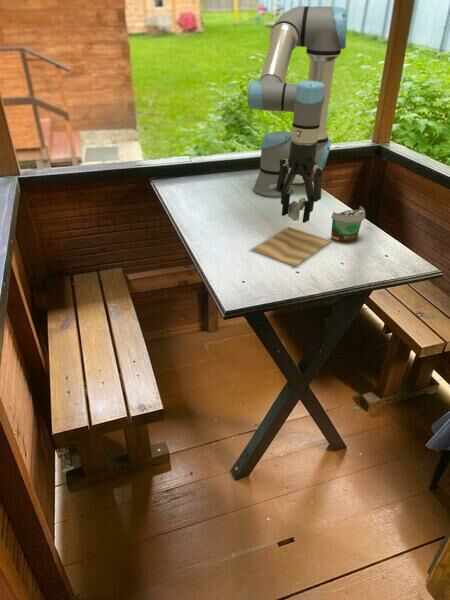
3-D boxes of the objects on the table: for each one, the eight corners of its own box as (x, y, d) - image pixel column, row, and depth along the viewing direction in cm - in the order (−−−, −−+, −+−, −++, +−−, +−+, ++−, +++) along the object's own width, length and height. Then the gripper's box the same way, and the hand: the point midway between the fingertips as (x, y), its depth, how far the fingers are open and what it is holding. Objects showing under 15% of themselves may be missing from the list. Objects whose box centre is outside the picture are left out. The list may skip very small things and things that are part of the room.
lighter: (287, 215, 141) (290, 191, 137) (292, 215, 142) (295, 191, 137) (299, 224, 136) (302, 199, 131) (303, 223, 136) (307, 198, 132)
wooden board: (288, 228, 155) (289, 227, 155) (329, 241, 147) (330, 241, 146) (252, 250, 140) (252, 249, 140) (295, 266, 132) (295, 266, 132)
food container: (339, 247, 143) (344, 219, 138) (327, 240, 148) (332, 212, 142) (368, 240, 148) (374, 212, 142) (355, 233, 152) (361, 205, 147)
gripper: (267, 138, 128) (262, 213, 141) (329, 151, 118) (317, 230, 130) (281, 133, 133) (275, 206, 146) (342, 146, 123) (329, 222, 135)
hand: (295, 217), depth 138 cm, fingers closed on lighter, 7 cm apart
